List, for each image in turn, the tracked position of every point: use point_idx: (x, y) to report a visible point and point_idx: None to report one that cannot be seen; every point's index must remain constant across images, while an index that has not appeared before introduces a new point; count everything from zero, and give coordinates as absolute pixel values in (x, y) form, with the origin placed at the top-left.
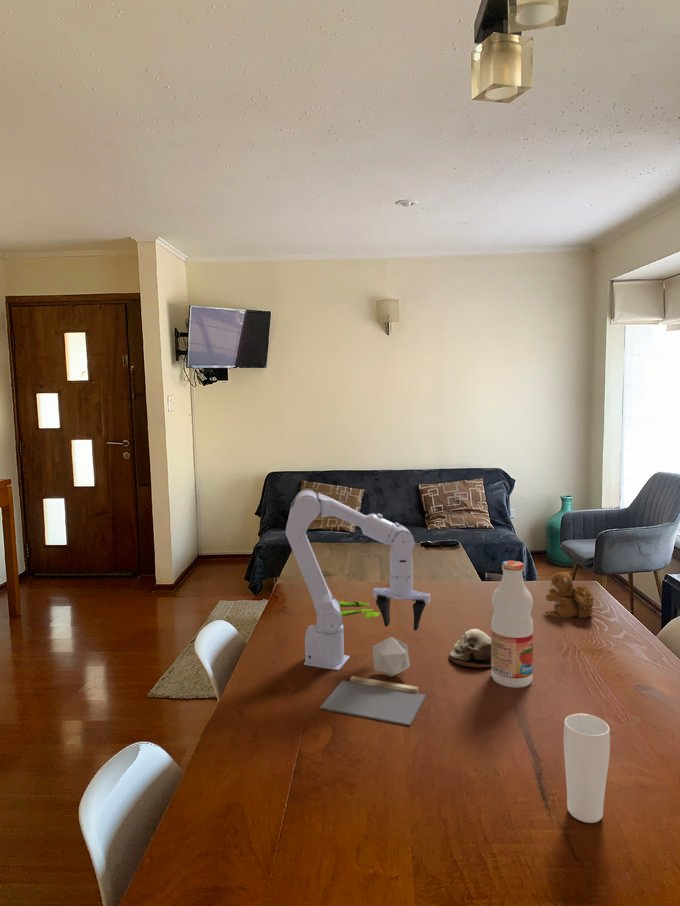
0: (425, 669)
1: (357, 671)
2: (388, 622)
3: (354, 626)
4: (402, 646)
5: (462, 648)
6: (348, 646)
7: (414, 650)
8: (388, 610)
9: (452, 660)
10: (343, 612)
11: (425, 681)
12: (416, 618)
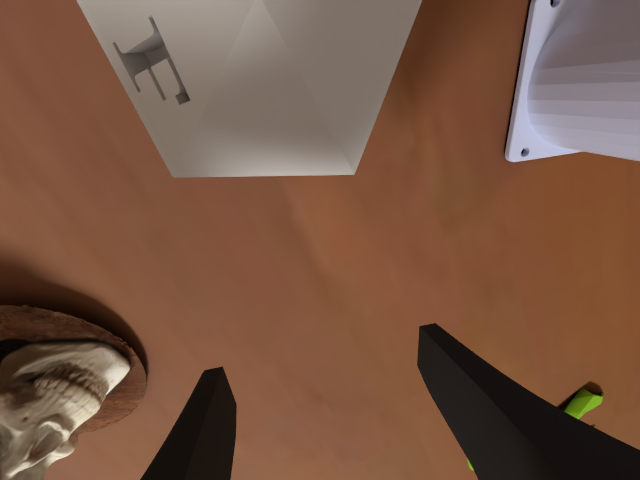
0: (161, 217)
1: (439, 40)
2: (426, 362)
3: (528, 371)
4: (133, 47)
5: (26, 394)
6: (524, 248)
7: (289, 334)
8: (481, 460)
9: (82, 322)
10: (578, 413)
11: (77, 94)
12: (159, 475)
